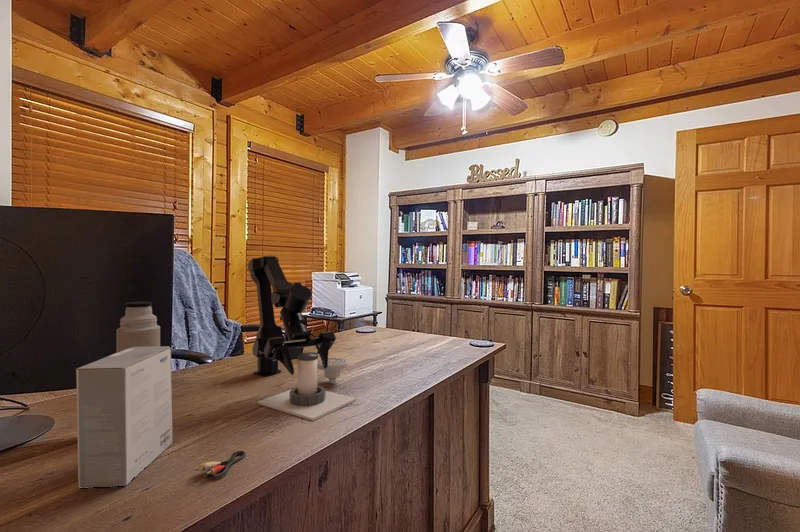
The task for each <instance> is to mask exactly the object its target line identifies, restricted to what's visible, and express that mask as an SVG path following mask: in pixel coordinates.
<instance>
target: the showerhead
mask: <svg viewBox="0 0 800 532" xmlns="http://www.w3.org/2000/svg"><path fill="white" fill-rule="evenodd" d="M348 365H349V363H348V360H346V359H345V358H340V357H328V364H327V368H326V369H324V366H323V364H322V361H321V359H319V360H317V370H320V371H324V372H323V373H324V377H325V378H327V379H328V383H329V384H336V382H337V381H336V380H337V378H339V377H340V376H341V370H344V369H347V368H348Z"/></svg>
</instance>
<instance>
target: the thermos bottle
mask: <svg viewBox="0 0 800 532" xmlns="http://www.w3.org/2000/svg"><path fill="white" fill-rule="evenodd" d="M152 306H153V302H152V301H132V302H126V303H125V304H124V307H125V314H124V316H123V317H121V318H120V323H119V325H120V327H118V328H117V329H116V335H115V338H116V341H115V342H116V343H115V344H116V347H115V348H116V351H115V353H118V352H121V351H123V350H126V349H129V348H131V347H153V346H161V326H160V325H159V324H158V323H157V321H158V319H157V318H158V317H157V315H154V314H153V308H152Z"/></svg>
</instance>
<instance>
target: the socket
mask: <svg viewBox="0 0 800 532" xmlns="http://www.w3.org/2000/svg"><path fill="white" fill-rule="evenodd" d="M356 401H357V397H353V396H348V395H345V394H341V393H336V392H333V391H330V390H329V391H328V390H326V388H325V387H324V386H320V385H317V394H314V395H298V386H297V387H294V388H292V389H289V390H287V391H283V392H280V393H277V394H275V395H273V396H269V397H267V398H263V399H261V400H258V401H257V405H261V406H264V407H267V408H270V409H273V410H277V411H279V412H283V413H286V414H289V415H293V416H296V417H300V418H301V419H305V420H309V421H312V422H314V421H315V420H318V419H321V418H322V417H324V416H327V415H329V414H331V413H333V412H335V411H337V410H339V409H342V408H343V407H346V406H348V405H350V404H352V403H354V402H356Z"/></svg>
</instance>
